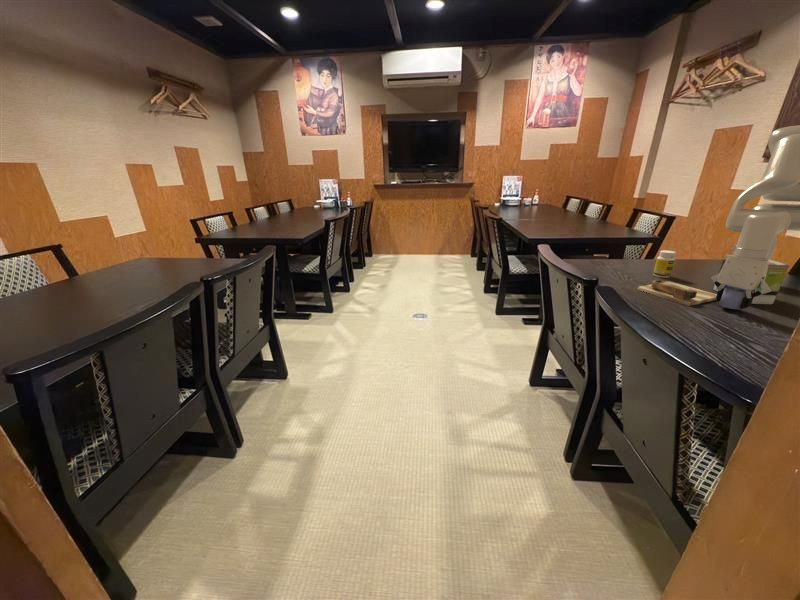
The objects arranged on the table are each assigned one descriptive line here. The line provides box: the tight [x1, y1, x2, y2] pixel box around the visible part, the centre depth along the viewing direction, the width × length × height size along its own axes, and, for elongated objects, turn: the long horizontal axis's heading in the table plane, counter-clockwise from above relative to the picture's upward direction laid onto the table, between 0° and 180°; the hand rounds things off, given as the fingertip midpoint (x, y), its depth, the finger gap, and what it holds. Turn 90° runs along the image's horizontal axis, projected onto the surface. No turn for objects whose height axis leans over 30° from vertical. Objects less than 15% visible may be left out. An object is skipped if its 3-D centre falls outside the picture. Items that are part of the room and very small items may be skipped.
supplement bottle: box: [652, 249, 677, 279], centre depth 144 cm, size 6×6×11 cm
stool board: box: [636, 280, 717, 307], centre depth 124 cm, size 18×19×5 cm
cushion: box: [718, 286, 746, 310], centre depth 109 cm, size 6×6×6 cm
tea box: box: [713, 254, 790, 305], centre depth 118 cm, size 15×10×15 cm
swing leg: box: [650, 278, 697, 299], centre depth 122 cm, size 15×4×3 cm, turn 15°
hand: (731, 303), depth 110 cm, fingers closed on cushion, 6 cm apart
